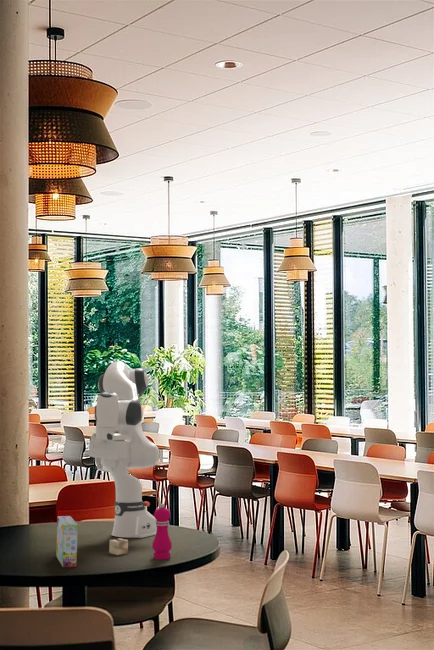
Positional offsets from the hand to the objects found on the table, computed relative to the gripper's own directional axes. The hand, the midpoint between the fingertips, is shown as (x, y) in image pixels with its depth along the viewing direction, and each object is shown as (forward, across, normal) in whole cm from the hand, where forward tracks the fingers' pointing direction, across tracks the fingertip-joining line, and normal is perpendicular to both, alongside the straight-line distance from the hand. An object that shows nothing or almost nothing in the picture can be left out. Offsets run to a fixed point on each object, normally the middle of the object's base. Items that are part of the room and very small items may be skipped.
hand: (107, 470), depth 351 cm
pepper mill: (+31, +24, +8) cm, 40 cm away
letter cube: (+31, +6, +1) cm, 32 cm away
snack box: (+31, +6, -22) cm, 39 cm away
